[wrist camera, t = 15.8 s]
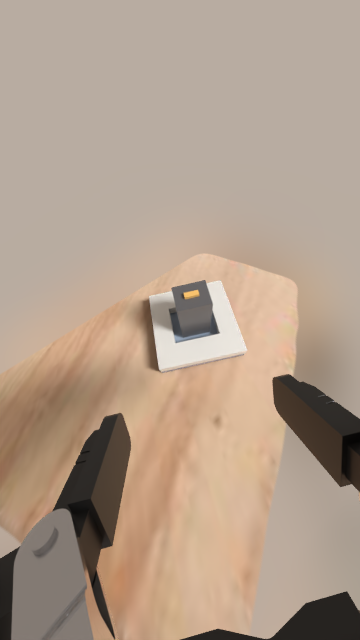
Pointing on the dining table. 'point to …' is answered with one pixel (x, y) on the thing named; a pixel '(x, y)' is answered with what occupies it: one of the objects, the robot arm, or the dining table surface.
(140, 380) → the dining table surface
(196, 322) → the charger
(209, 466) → the dining table surface
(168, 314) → the dock
